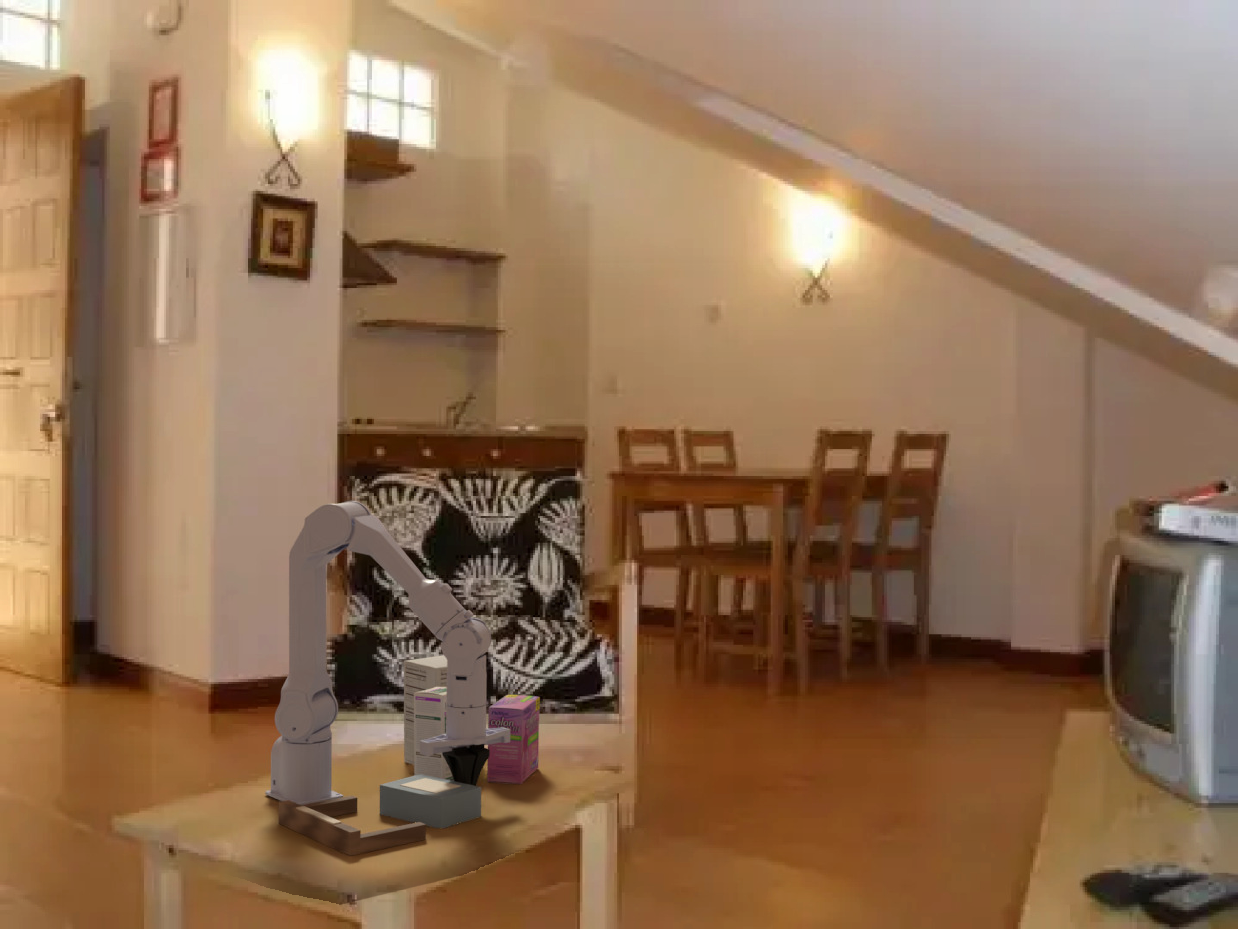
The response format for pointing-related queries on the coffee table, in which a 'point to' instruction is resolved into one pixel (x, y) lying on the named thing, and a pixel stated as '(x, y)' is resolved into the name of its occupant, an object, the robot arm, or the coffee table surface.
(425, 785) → the carton
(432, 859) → the coffee table surface
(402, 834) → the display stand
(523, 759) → the box
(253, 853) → the coffee table surface
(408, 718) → the supplement box
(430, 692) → the syrup box
